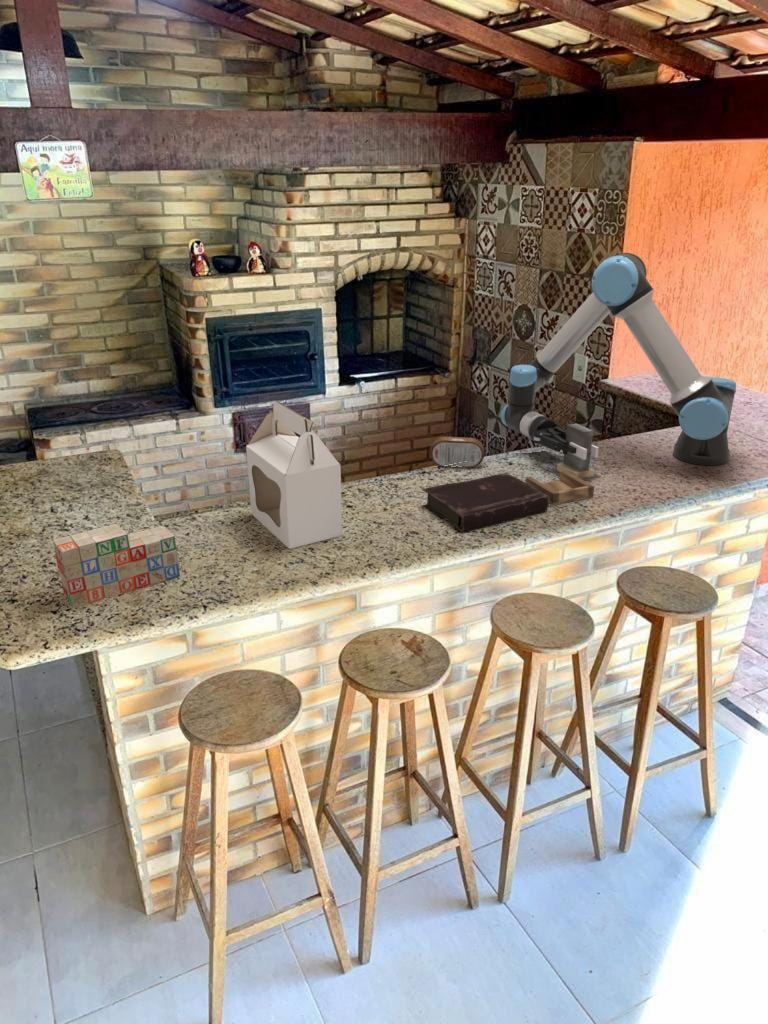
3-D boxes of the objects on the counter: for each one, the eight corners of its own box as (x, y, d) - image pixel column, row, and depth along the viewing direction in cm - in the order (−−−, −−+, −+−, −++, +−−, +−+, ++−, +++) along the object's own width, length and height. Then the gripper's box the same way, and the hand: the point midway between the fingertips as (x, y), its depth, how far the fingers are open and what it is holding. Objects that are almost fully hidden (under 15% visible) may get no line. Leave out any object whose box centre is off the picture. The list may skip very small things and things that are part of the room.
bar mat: (578, 466, 212) (578, 465, 212) (601, 478, 204) (601, 477, 203) (548, 471, 208) (548, 470, 208) (571, 484, 200) (571, 482, 200)
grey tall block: (575, 467, 210) (579, 422, 205) (593, 477, 204) (599, 430, 198) (557, 470, 208) (561, 425, 203) (575, 480, 201) (580, 433, 196)
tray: (563, 482, 201) (565, 470, 200) (592, 498, 191) (594, 486, 190) (525, 489, 197) (526, 477, 195) (552, 506, 187) (553, 494, 185)
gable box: (343, 536, 172) (340, 416, 160) (289, 550, 165) (282, 426, 154) (300, 502, 189) (295, 392, 177) (250, 514, 183) (241, 400, 171)
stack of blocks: (169, 565, 159) (162, 511, 154) (180, 577, 154) (173, 522, 149) (63, 595, 148) (51, 538, 143) (72, 609, 143) (60, 551, 138)
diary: (548, 514, 184) (550, 495, 182) (462, 536, 173) (464, 516, 171) (501, 487, 199) (502, 469, 197) (419, 506, 188) (420, 487, 186)
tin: (483, 465, 213) (485, 437, 209) (483, 469, 210) (485, 440, 206) (429, 463, 214) (430, 435, 211) (429, 467, 211) (430, 439, 208)
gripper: (560, 437, 222) (614, 462, 203) (514, 444, 216) (564, 471, 197) (563, 412, 219) (617, 435, 200) (516, 419, 213) (567, 444, 193)
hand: (591, 453), depth 198 cm, fingers closed on grey tall block, 3 cm apart
